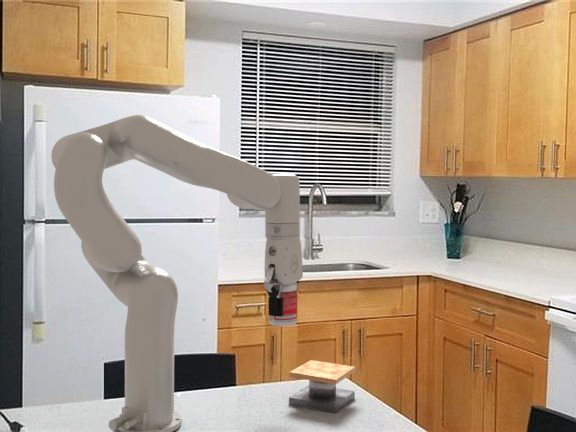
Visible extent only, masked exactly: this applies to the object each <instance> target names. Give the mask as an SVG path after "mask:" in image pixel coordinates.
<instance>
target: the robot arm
mask: <svg viewBox="0 0 576 432" xmlns="http://www.w3.org/2000/svg"><path fill="white" fill-rule="evenodd" d="M50 155H51V157H50V158H51V162H52V165H53V167H54V169H55V171H54V176H53V177H54V178H53V179H54V180H53V193H54V197H55V201H56V205H57V206H58V208H59V210H60V212H61V213H62V216H63V217H64V218H65V220H66V221H67V223H68V224H69V226H70V227H71V228H72V230H73V231H74V232H75V234H76V235H77V237H78V238H79V239H80V242H81V243H80V244H81V245H80V248H81V252H82V254H83V257H84V258H85V260H86V261H87V263H88V265H90V267H91V268H92V270H93V271H94V272H95V273H96V274H97V275H98V277H99V278H100V279H101V281H102V282H103V283H104V284H105V286H106V287H107V288H108V289H109V290H110V292H111V293H112V294H113V295H114V297H115V298H117V300H118V301H119V302H120V303H122V304H123V305H125V306H126V307H127V315H126V321H125V328H124V406H123V407H121V414H119V416H117V417H115V418H113V419H111V420H109V421H108V428H109V429H110V430H112V431H115V430H118V431H119V432H174V431H176V430H177V429H179V428H180V427H181V426H182V416H181V415H180V414H179V412H176V411H175V324H176V314H177V308H178V303H179V302H178V299H179V293H178V286H177V284H176V282H175V280H174V278H173V277H172V276H171V275H170V273H169V272H167V271H166V270H164V269H162V268H160V267H157V266H155V265H152V264H150V263H149V262H148V261H147V260H146V258H145V257H144V256H143V254H142V250H143V249H142V244H141V241H140V238H139V237H138V235H137V233H136V232H135V231H134V230H133V229H132V228H131V226H130V225H129V223H127V221H126V220H125V219H124V217H123V216H122V215H121V213H119V211H118V210H117V208H116V207H115V206H114V204H113V203H112V202H111V200H110V198H109V196H108V195H107V193H106V192H105V189H104V185H103V174H104V171H105V170H106V169H109V168H113V167H115V166H117V165H120V164H124V163H125V162H129V161H132V160H136V161H139V162H141V163H142V164H144V165H147V166H149V167H151V168H153V169H155V170H158V171H160V172H161V173H162V172H163V173H165V174H167V175H168V176H170V177H172V178H175V179H177V180H178V181H180V182H182V183H187V184H190V185H193V186H196V187H201V188H202V187H203V188H205V189H211V190H214V191H218V192H221V193H224V194H226V195H227V198H228V200H229V201H230V202H231V204H232V205H234V206H235V207H238V208H241V209H248V210H259V211H264V216H265V219H264V223H265V224H264V225H265V226H264V228H265V229H264V230H265V235H264V236H265V237H264V238H265V239H266V241H265V249H264V250H265V252H264V281H263V286H264V288H265V290H266V293H267V296H266V297H267V298H268V316H269V315H270V316H279V317H281V316H283V298H281V294H282V288H283V285H288V284H291V283H294V284H295V285H296V287H297V292H298V291H299V287H298V284H299V282H300V280H302V279H303V275H304V274H303V273H304V271H303V270H304V269H303V267H304V266H303V251H302V242H301V238H300V237H301V227H300V226H301V221H300V220H301V217H300V216H301V213H300V212H301V210H300V209H301V205H300V203H301V202H300V200H301V199H300V198H301V197H300V195H301V194H300V191H301V190H300V188H301V187H300V179H299V176H297V175H296V174H294V173H293V174H292V173H275V174H274V173H272V174H271V173H270V172H268V171H266V170H264V169H262V168H260V167H258V166H257V165H254V164H252V163H250V162H248V161H246V160H245V159H242V158H241V159H240V158H238V157H237V156H234V155H231V154H229V153H226V152H223V151H222V150H221V151H220V150H219V149H216V148H214V147H212V146H209V145H206V144H204V143H201V142H199V141H197V140H196V139H193V138H192V137H190V136H187V135H185V134H183V133H181V132H179V131H178V130H175V129H173V128H171V127H170V126H168V125H166V124H164V123H162V122H160V121H157V120H156V119H154V118H151V117H149V116H147V115H142V114H139V115H138V114H136V115H135V114H134V115H130V116H126V117H122V118H120V119H117V120H114V121H112V122H108V123H105V124H102V125H99V126H97V127H93V128H89V129H86V130H82V131H78V132H75V133H71V134H67V135H65V136H62V137H61V138H59V139H58V140H57V141H56V142H55V144H54V145H53V147H52V149H51V154H50ZM274 281H278V282H279V283H274ZM274 286H276V287H278V290H276V288H275V287H274Z"/></svg>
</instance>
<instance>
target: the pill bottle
mask: <svg viewBox="0 0 576 432" xmlns="http://www.w3.org/2000/svg"><path fill="white" fill-rule="evenodd" d="M274 283H279V282H278V281H274ZM274 287H275V288H276V290H278V287H276V286H274ZM297 287H298V286H297ZM297 287H296V285H295V284H294V283H291V284H288V285H283V288H282V294H281V298H283V316H281V317H279V316H270V315H269V314H268V322H269V324H270V325H271V326H274V327H291V326H295V325H296V324H297V322H298V291H297Z"/></svg>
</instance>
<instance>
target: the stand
mask: <svg viewBox="0 0 576 432" xmlns="http://www.w3.org/2000/svg"><path fill="white" fill-rule="evenodd" d="M355 372H356V366H352V365H346V364H340V363H333V362H327V361H320V360H313V359H310V360H309V361H307V362H305V363H303V364H301V365H300V366H297V367H296V368H294V369H292V370H290V371H289V374H288V375H289V378H295V379H303V380H308V385H306V386H305V387H303V388H301V389H299V391H297V392H295V393H294V394H292V395H290V396H289V397H288V405H290V406H295V407H300V408H304V409H305V408H306V409H310V410H316V411H320V412H325V413H332V414H337V413H338V412H339V411H340V410H342V409H343V408H344V407H345V406H347V405H348V404H349V403H351V402H353V400H355V397H356V395H355V390H349V389H343V388H338V387H337V384H339V383H340V382H341V381H343V380H345V379H346V378H348V377H349V376H351V375H352V374H353V373H355Z"/></svg>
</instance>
